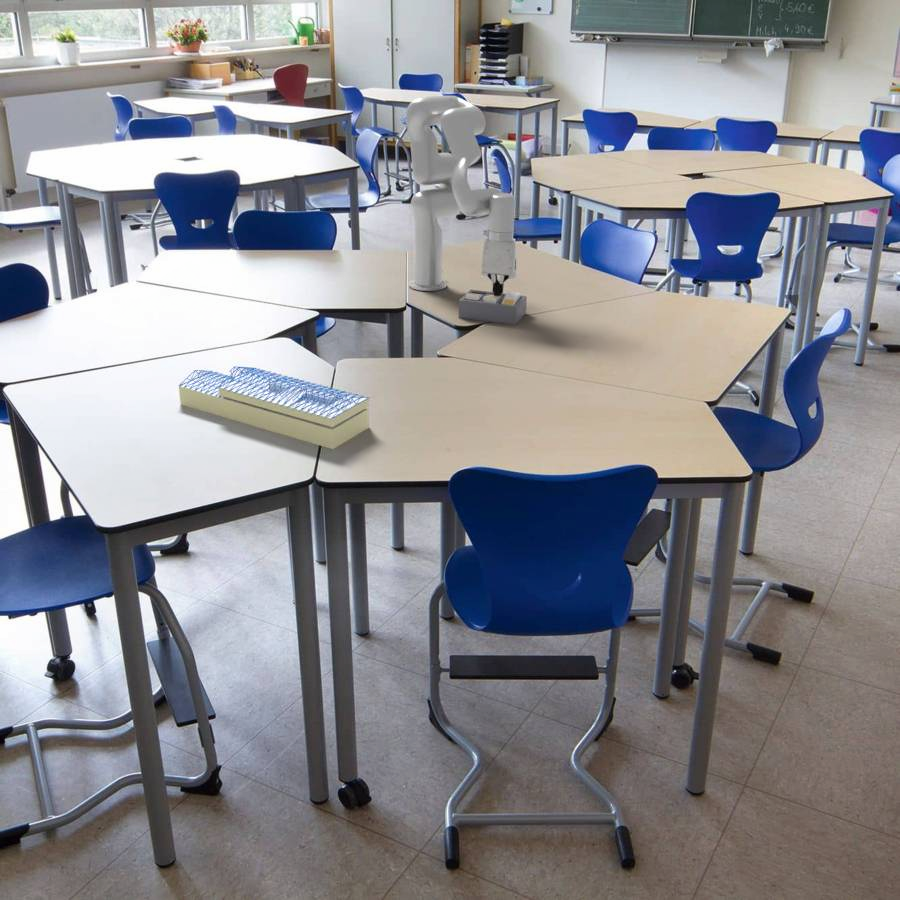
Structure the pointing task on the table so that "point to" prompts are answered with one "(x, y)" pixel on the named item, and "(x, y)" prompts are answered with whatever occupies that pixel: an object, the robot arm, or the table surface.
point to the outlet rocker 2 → (491, 298)
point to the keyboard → (279, 404)
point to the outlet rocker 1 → (474, 296)
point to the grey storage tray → (492, 309)
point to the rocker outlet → (511, 298)
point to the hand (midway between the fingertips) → (497, 294)
